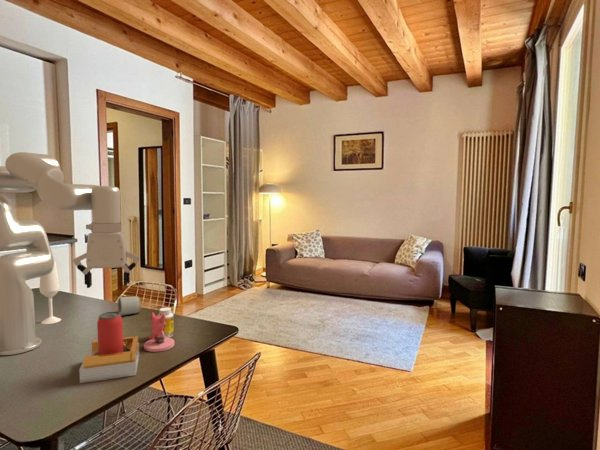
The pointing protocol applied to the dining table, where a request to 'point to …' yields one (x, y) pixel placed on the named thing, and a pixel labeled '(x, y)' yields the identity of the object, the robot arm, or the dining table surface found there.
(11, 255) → the robot arm
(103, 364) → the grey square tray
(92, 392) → the dining table surface
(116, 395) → the dining table surface
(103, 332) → the beer can
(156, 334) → the toy figure
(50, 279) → the champagne flute
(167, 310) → the supplement bottle
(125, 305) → the ceramic mug
